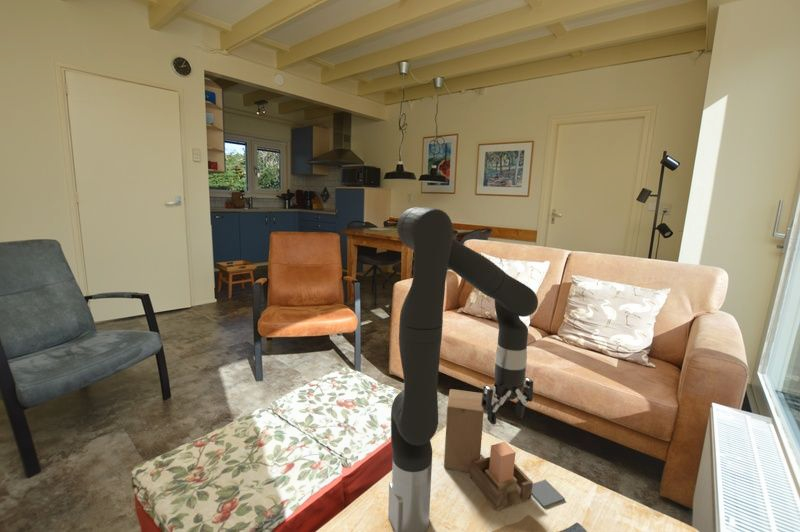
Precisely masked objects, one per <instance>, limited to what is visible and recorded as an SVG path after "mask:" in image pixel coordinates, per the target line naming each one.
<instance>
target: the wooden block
mask: <svg viewBox="0 0 800 532" xmlns="http://www.w3.org/2000/svg"><path fill="white" fill-rule="evenodd" d="M448 393H449V394H448V399H447V405H446V422H445V424H446V425H445V441H444V455H443V456H444V458H443V467H444V469H447V470H452V471H453V470H454V471H458V472H465V473H469V474H471V462H473V461H477V460H480V459H481V453H482V450H481V449H482V439H483V438H482V437H483V425H484V412H485V411H484V410H485V409H484V408H483V407H482V406H481V403H482V395H483V392H475V391H468V390H461V389H453V388H450V389H449V392H448Z"/></svg>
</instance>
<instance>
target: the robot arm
mask: <svg viewBox="0 0 800 532" xmlns="http://www.w3.org/2000/svg"><path fill="white" fill-rule="evenodd" d="M396 230H397V231H396V232H397V235H398V237H399V239H400V241H401V243H403V245H404V246H405V247H407V248H409V249H411V250H413V275H412V276H413V277H412V281H411V285H410V287H409V290H408V291H407V294H406V296H405V298H404V301H403V304H402V306H401V308H400V311H399V312H400V313H399V314H400V315H399V324H398V325H399V326H398V349H399V356H400V363H401V369H402V374H403V385H404V386H403V388H404V389H403V390H401V391H400V392H399V393H397V394H396V396H395V397H394V400H393V402H392V404H391V411H390V440H391V442H390V443H391V450H392V469H391V470H392V471H391V474H392V476H391V477H392V478H391V482H389V483H388V508H387V509H388V510H387V511H388V513H387V515H388V516H387V517H388V519H389V521H390V524H391V526H392V529H393V531H394V532H426V531H427V530H428V527H429V524H430V510H431V508H430V507H431V491H432V490H431V488H432V486H431V485H432V470H433V469H432V468H433V447H432V442H431V440H432V438H433V437H434V435H435V434H436V432H437V430H438V428H439V427H438V425H439V405H438V404H439V403H438V402H439V401H438V400H439V399H438V380H439V370H440V359H441V358H440V357H441V345H442V336H443V327H444V326H443V325H444V324H443V323H444V304H445V294H446V280H447V273H448V269H450V270H451V271H452V272H454V273H455V274H456V275H458V277H460V278H462V279H463V280H464V281H466V282H467V283H468V284H469V285H471V286H472V287H474V288H475V289H476V290H478V291H479V292H481V294H483V295H484V296H487V297H488V298H491V299H493V300H494V308H495V309H494V310H495V316H496V320H497V324H498V336H497V345H496V351H495V360H494V361H495V362H494V373H493V374H494V375H493V377H494V384H493V385H490V386H489V385H487V384H484V386H483V388H482V393H483V395H482V403H481V406H482V407H483V408H484V410H485V411H486V412H487V416H486V417H487V420H488V422H489V423H490V424H491V425H493V426H495V425H496V424H497V413H498V412H497V411H498V409H499V408H500V406H503V404H504V403H505V402H508V401H510V400H512V401H513V400H515V399H516V400H517V401H515V402H516V404H515V415H516V416H517V417H518V418H519V419H522V418H523V417H524V415H525V411H526V405H527V404H528V403H529V402H530V403H531V402H533V397H534V396H533V394H534V381H533V380H531V379H530V378H528V377H527V376H526V372H527V359H528V349H527V348H528V347H527V346H528V337H529V328H528V326H527V324H526V323H525V322H523V321H522V320H521V318H522V317H528V316H531V315H533V314H534V313H535V312H536V311H537V309H538V308H539V307H538V306H539V299H538V296H537V294H536V292H535V291H534V290H533V289H532V288H531V287H529V286H528V285H526V284H525V283H523V282H521V281H519V280H518V279H516V278H514V277H512V276H510V275H509V274H508V273H506V272H505V271H504V270H503V269H502V268H500V267H499V266H498V265H497V264H496V263H494V262H493V261H491V260H490V259H488V258H487V257H486V256H484V255H482V254H481V253H479V252H477V251H476V250H473V249H472V248H470V247H468V246H466V245H465V244H463V243H461V242H460V241H458V240H456V239H455V238H454V226H453V222H452V220H451V218H450V216H449V215H448V213H447V212H445V211H444V210H441V208H435V207H434V208H433V207H425V206H415V207H411V208H407V209H406V210H405V211H403V212H402V213H401V215H400V216H399V218H398V220H397V225H396ZM520 317H521V318H520ZM521 391H522V392H521ZM497 397H499V399H498V398H497Z"/></svg>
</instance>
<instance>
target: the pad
mask: <svg viewBox="0 0 800 532" xmlns="http://www.w3.org/2000/svg"><path fill="white" fill-rule="evenodd" d="M531 497H532V498H534V500H535V501H536V502H537V503H538V504H539V505H540V506H541V507H542V508H543V509H545V508H547V507H550V506H553V505H555V504H558V503H561V502H563V501H565V499H566V498H565V497H564V495H562V494H561V493H560V492H559V491H558V490H557V489H556V488H555V487H554V486H553V485H552V484H550V482H549V481H547V479H543V480H542V479H541V480H540V481H537V482H533V485H532V494H531Z"/></svg>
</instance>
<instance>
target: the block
mask: <svg viewBox="0 0 800 532" xmlns="http://www.w3.org/2000/svg"><path fill="white" fill-rule="evenodd" d="M489 453H490V454H489V457H490V464H489V472H490V473H491V474H492V476H493V477H494V478H495V479H496V480H497V481H498V483H501V482H504V481H507V480H511V479H513V474H514V463H516V451H515V449H513V448H512V447H511V446H510V445H509V444H508V443H507V442H506V441H503V442H499V443H496V444H492V445H490V452H489Z"/></svg>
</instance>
